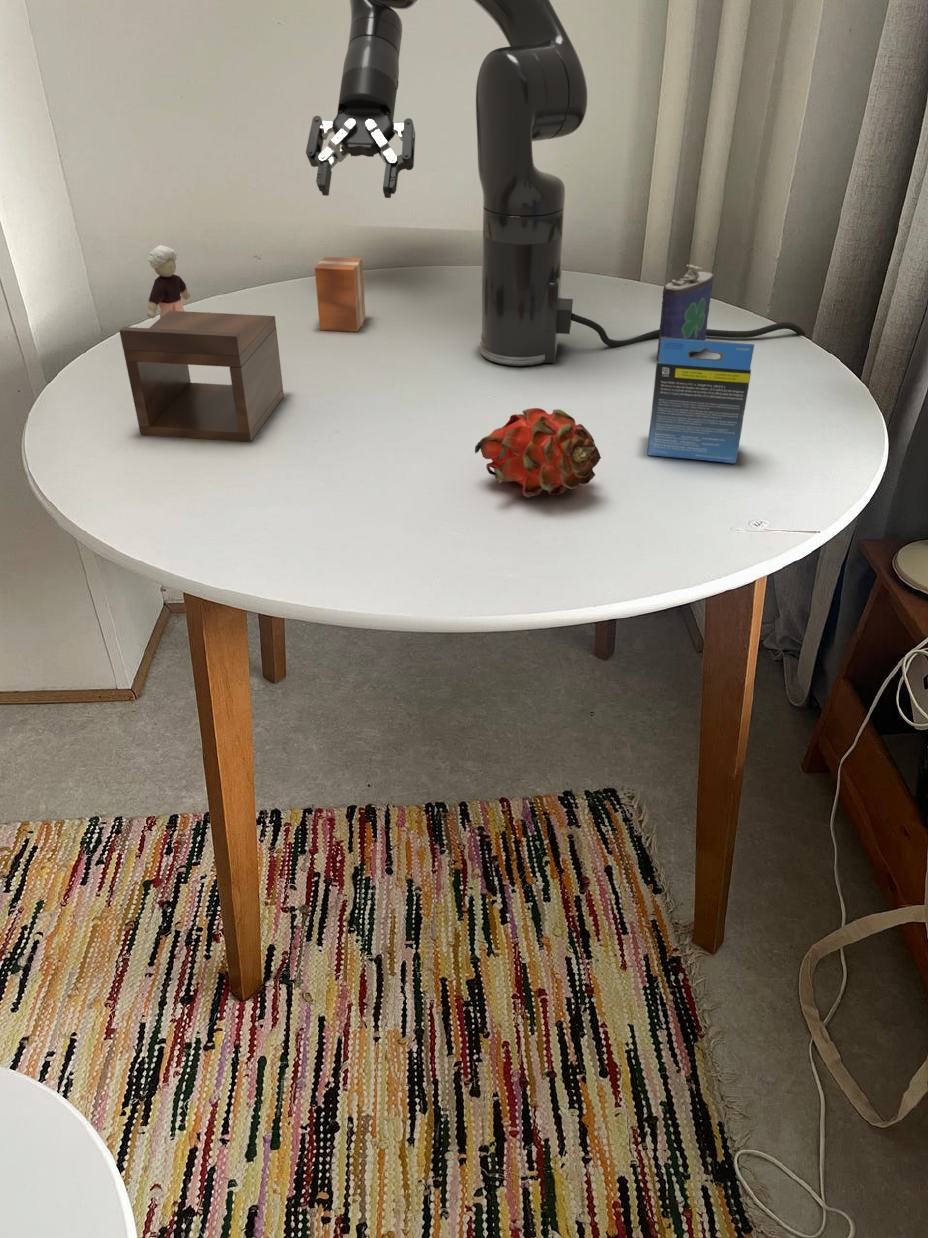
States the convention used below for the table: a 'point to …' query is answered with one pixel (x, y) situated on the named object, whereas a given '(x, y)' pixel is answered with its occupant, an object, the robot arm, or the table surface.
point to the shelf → (204, 407)
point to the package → (340, 293)
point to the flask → (686, 306)
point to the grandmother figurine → (165, 283)
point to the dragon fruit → (541, 452)
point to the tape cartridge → (699, 400)
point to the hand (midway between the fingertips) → (355, 193)
